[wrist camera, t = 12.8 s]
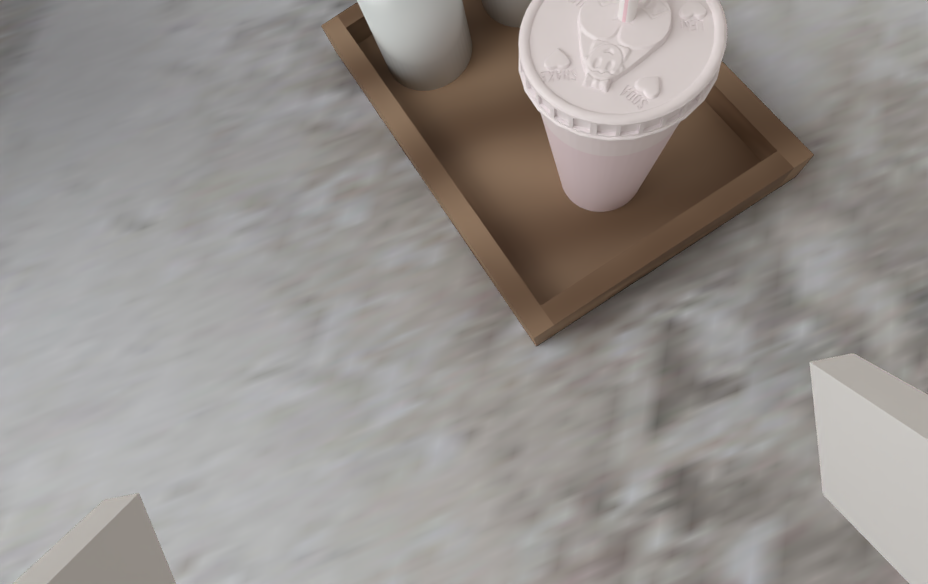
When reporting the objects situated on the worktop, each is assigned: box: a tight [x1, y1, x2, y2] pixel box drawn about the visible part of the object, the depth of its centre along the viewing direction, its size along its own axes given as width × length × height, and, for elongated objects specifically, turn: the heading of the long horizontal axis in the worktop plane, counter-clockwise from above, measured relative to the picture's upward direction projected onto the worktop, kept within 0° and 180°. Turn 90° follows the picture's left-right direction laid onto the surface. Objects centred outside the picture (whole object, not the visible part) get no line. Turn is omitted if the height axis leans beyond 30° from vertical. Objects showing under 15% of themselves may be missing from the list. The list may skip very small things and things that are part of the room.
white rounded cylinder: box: [357, 0, 472, 91], centre depth 28 cm, size 5×5×6 cm
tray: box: [322, 0, 814, 346], centre depth 28 cm, size 20×14×2 cm
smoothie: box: [518, 0, 727, 212], centre depth 20 cm, size 6×6×14 cm
